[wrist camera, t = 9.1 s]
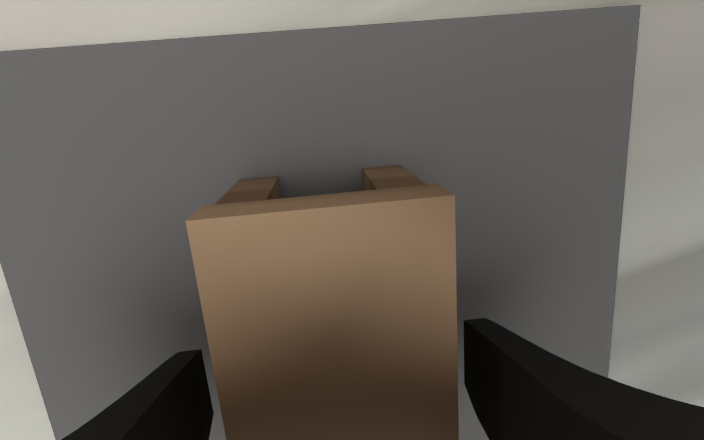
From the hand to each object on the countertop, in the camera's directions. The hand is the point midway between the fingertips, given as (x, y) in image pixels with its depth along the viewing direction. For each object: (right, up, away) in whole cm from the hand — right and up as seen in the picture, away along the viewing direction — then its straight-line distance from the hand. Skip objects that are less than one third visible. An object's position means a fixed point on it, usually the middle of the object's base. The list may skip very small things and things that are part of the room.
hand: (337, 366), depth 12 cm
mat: (0, +1, +3) cm, 3 cm away
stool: (0, +1, +3) cm, 3 cm away
